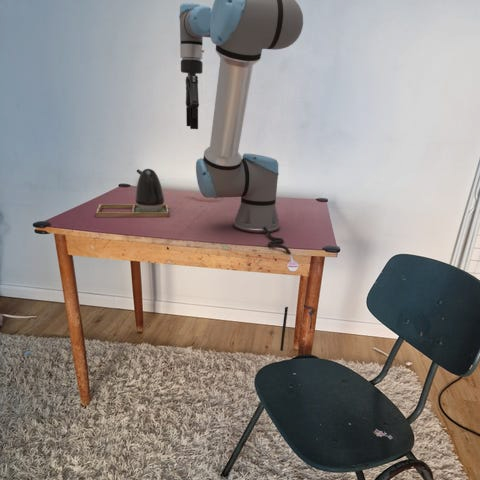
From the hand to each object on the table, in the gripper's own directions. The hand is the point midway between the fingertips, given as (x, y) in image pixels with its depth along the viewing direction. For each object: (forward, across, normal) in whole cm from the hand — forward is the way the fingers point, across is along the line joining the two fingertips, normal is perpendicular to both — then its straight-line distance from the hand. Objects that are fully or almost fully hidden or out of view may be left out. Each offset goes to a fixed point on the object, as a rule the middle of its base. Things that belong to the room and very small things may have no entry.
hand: (192, 127), depth 154 cm
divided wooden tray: (+28, -10, +23) cm, 38 cm away
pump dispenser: (+28, -10, +17) cm, 35 cm away
